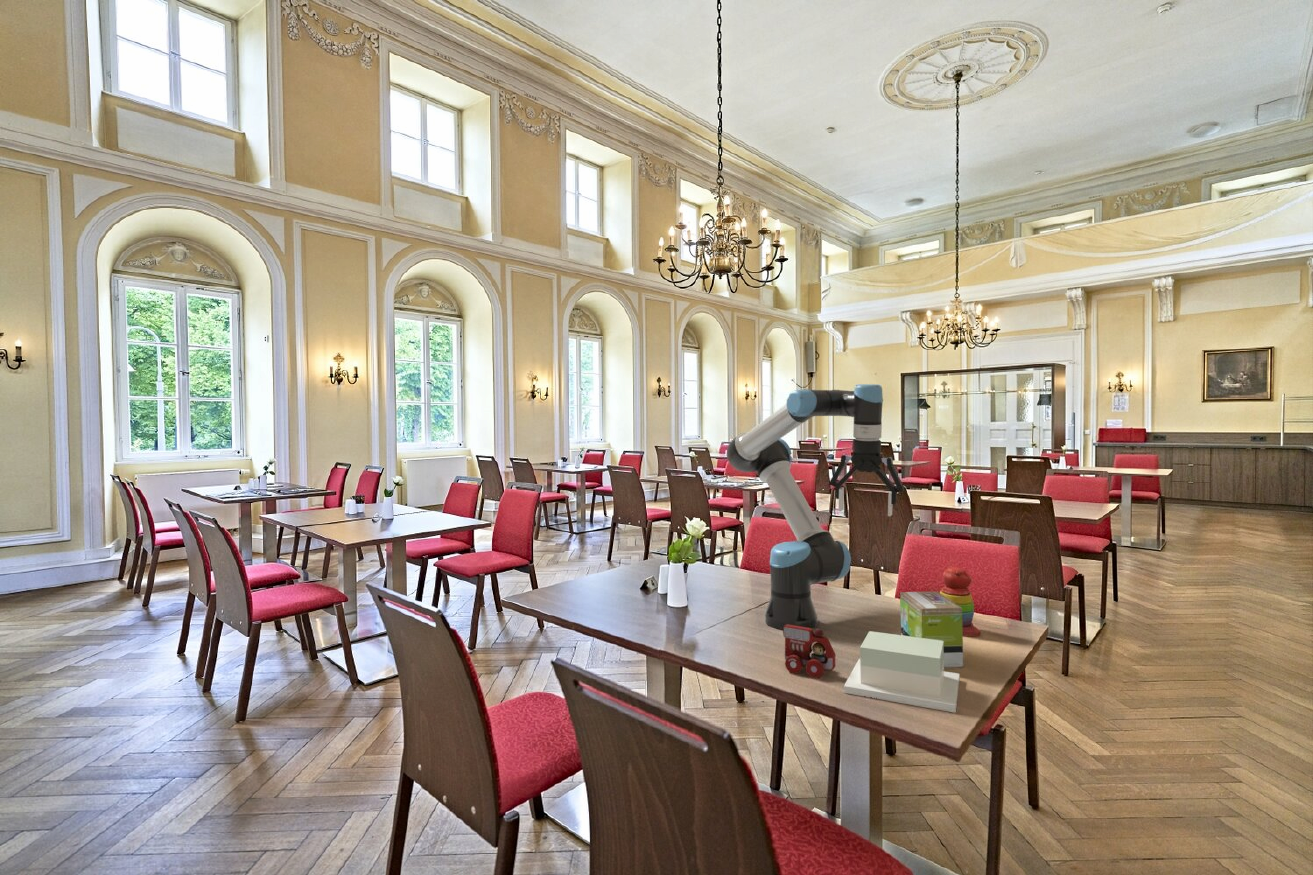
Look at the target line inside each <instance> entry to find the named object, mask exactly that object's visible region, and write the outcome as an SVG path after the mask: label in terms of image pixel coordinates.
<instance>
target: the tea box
mask: <svg viewBox="0 0 1313 875" xmlns="http://www.w3.org/2000/svg"><path fill="white" fill-rule="evenodd" d="M899 596H900V597H899V598H900V599H899V600H900V606H899V607H900V631H901V632H900V635H903V636H910V637H918V638H926V639H933V640H941V641H944V668H963V667H964V638H963V629H962V608H961V607H960V606H958V605H957V604H955V603H953V602H952V601H950V600H949V599H947V598H946V597H944V596H943V595H941V594H940V592H939V591H936V590H934V591H900V592H899Z"/></svg>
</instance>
